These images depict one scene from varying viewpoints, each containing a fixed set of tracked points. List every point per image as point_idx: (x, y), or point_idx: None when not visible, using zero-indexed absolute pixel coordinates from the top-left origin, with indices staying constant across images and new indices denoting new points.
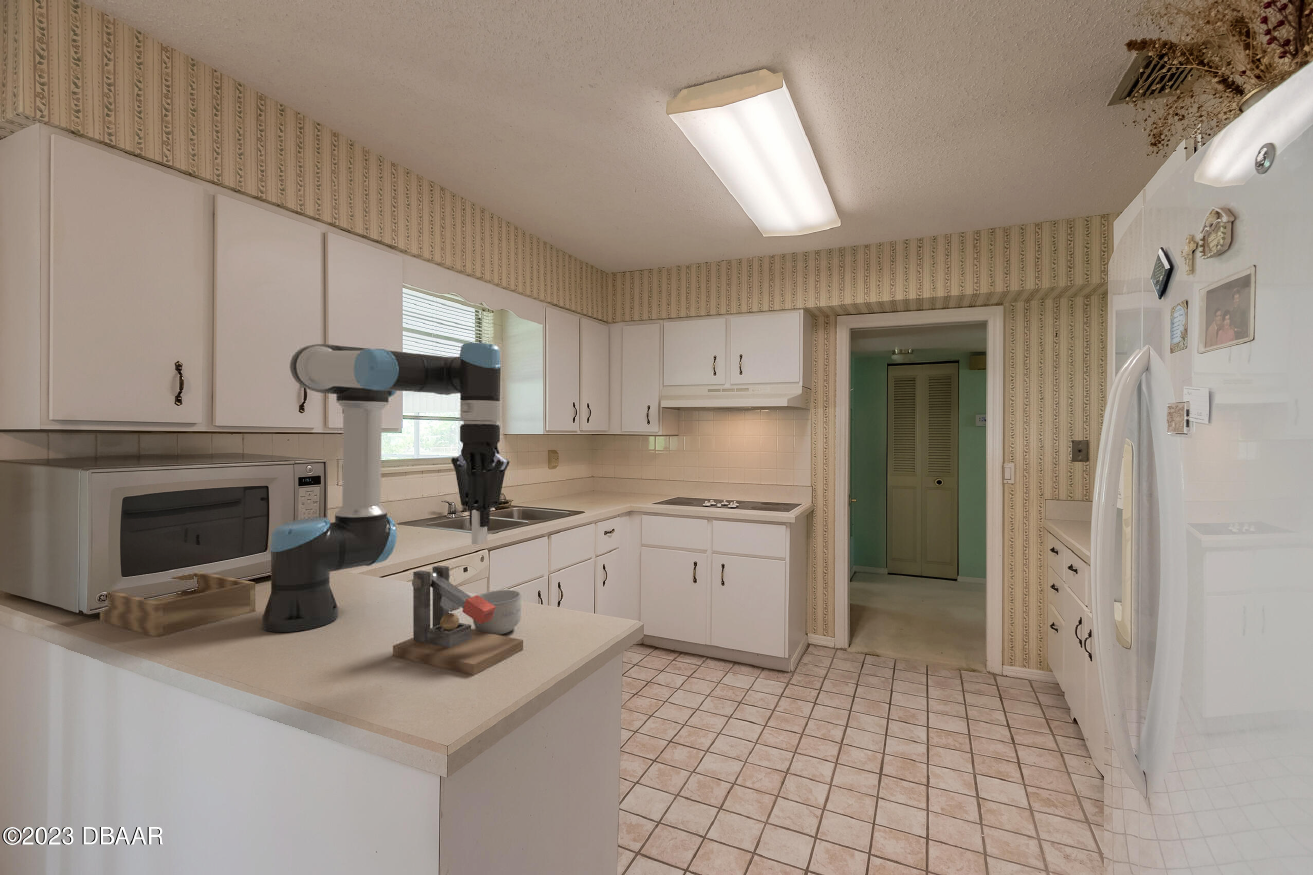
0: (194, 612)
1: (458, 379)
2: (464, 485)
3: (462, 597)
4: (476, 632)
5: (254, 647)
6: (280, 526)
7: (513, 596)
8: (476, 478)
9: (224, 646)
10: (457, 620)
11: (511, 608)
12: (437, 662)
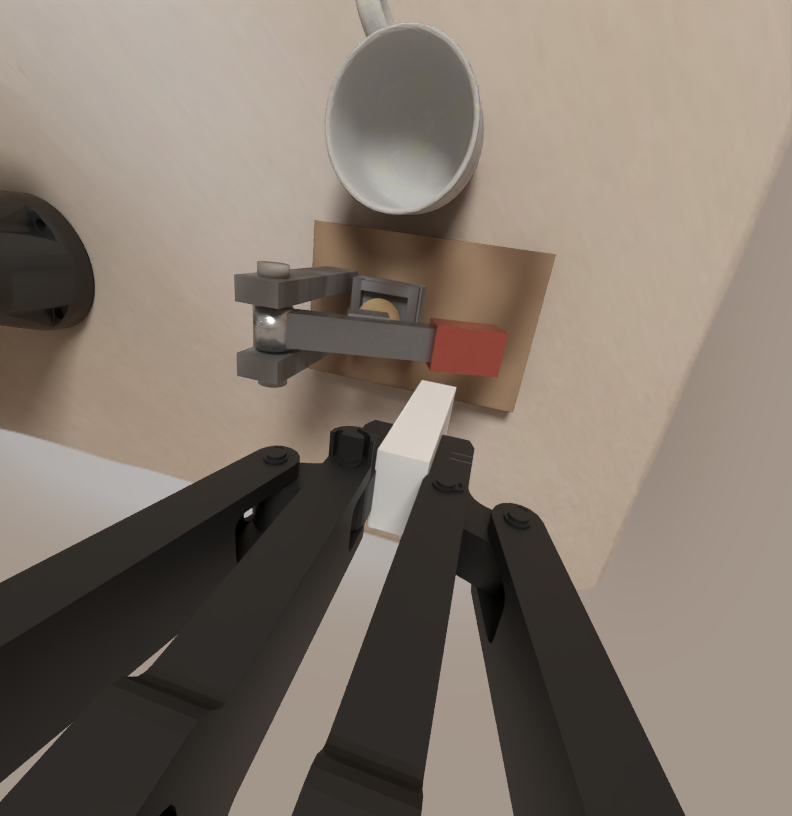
0: None
1: None
2: (178, 611)
3: (407, 352)
4: (414, 245)
5: (110, 388)
6: None
7: (425, 42)
8: (251, 718)
9: (76, 395)
10: (396, 319)
11: (473, 157)
12: None
